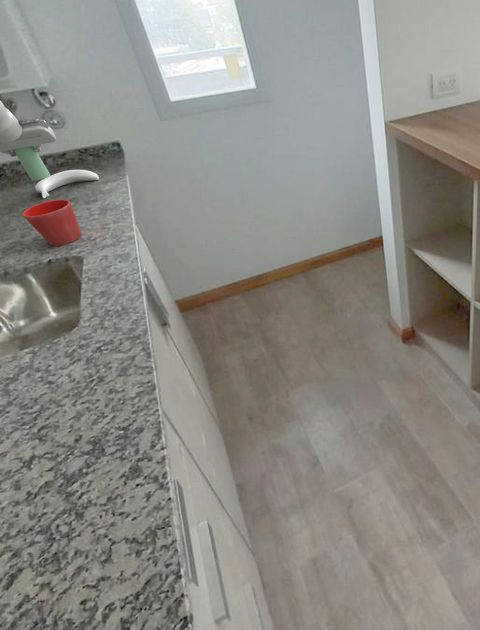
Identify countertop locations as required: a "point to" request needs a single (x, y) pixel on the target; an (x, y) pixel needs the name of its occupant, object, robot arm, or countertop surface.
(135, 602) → the countertop surface
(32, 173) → the soap bottle
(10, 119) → the robot arm
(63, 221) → the flower pot
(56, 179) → the banana
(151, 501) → the countertop surface
